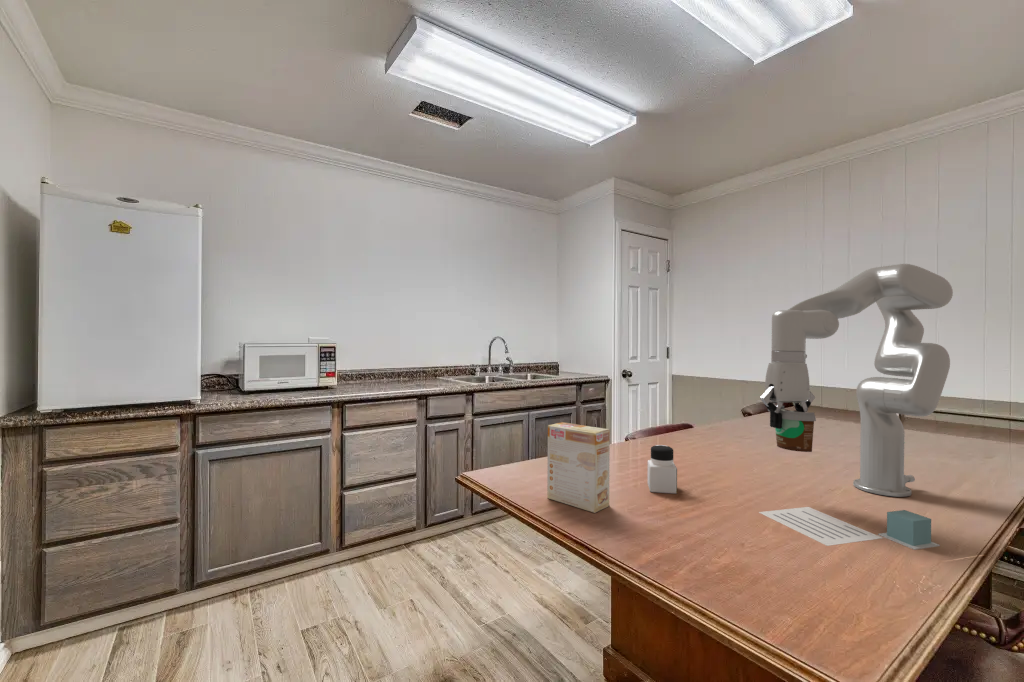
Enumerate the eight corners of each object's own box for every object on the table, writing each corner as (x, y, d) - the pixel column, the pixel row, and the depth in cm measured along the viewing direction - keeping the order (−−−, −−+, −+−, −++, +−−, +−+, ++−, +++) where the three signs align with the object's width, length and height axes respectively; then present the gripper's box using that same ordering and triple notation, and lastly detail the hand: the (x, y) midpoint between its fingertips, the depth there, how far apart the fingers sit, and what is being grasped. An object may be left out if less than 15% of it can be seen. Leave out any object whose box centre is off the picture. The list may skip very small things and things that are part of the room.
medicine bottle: (677, 494, 121) (677, 450, 121) (649, 492, 123) (650, 448, 123) (673, 485, 128) (673, 444, 128) (647, 484, 130) (647, 442, 130)
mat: (902, 532, 98) (902, 530, 98) (940, 546, 91) (940, 544, 91) (878, 535, 96) (878, 533, 96) (914, 550, 89) (914, 548, 89)
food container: (761, 442, 122) (760, 405, 122) (782, 441, 122) (782, 405, 122) (792, 454, 109) (791, 413, 109) (816, 453, 110) (816, 412, 110)
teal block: (904, 532, 97) (904, 509, 97) (931, 543, 92) (931, 518, 92) (886, 535, 95) (887, 512, 95) (913, 545, 91) (913, 521, 91)
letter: (808, 507, 112) (808, 506, 112) (883, 538, 95) (883, 537, 95) (758, 513, 108) (758, 512, 108) (826, 546, 91) (826, 545, 91)
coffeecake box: (610, 506, 113) (610, 428, 113) (594, 514, 108) (595, 433, 107) (562, 491, 123) (562, 421, 123) (546, 498, 118) (546, 424, 118)
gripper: (803, 357, 121) (803, 423, 121) (748, 357, 117) (748, 425, 117) (828, 358, 114) (828, 428, 114) (771, 358, 110) (770, 431, 110)
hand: (787, 426), depth 116 cm, fingers closed on food container, 6 cm apart
